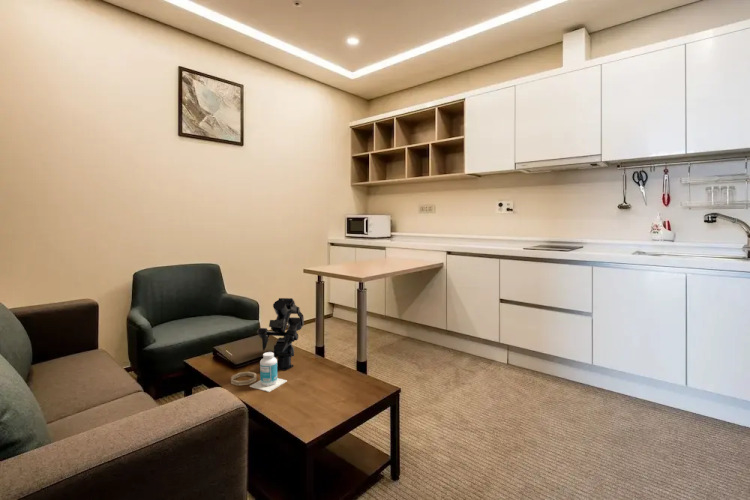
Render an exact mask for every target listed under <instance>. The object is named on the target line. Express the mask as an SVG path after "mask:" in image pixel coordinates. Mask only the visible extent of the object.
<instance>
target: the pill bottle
mask: <svg viewBox="0 0 750 500" xmlns="http://www.w3.org/2000/svg"><path fill="white" fill-rule="evenodd" d="M262 357H263V358H261V360H259V374H260V375H259V377H260V378H259V379H260V380H259V381H260V382H261V384H262V385H264V386H271V385H274V384H276V383H277V378H278V369H277V366H278V362H277V361H278V358H277V357H275V354H274V351H273V352H272V351H268V352H264V353H263V354H262Z"/></svg>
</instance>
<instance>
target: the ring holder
mask: <svg viewBox="0 0 750 500" xmlns="http://www.w3.org/2000/svg"><path fill="white" fill-rule="evenodd" d="M246 376H249V377H251V378H250V379H248V380H236V379H237V378H239V377H246ZM257 378H258V377H257V373H256V372H252V371H243V372H241V371H240V372H238V373H235V374H233V375H231V377H230V384H231V385H234V386H239V387H240V386H246V385H252V384H254V383H256V382H257Z"/></svg>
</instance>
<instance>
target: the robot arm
mask: <svg viewBox="0 0 750 500" xmlns="http://www.w3.org/2000/svg"><path fill="white" fill-rule="evenodd" d="M272 307H273V310H274V312H275V314H276V318H275V319H269V324H268V327H269V328H270V330H268V328H267V327H259V328H258V329H257V331H256V334H257V336H258V337H259V338H261V340H262V341H261V343H262V351H265V350H266V347H267V345H268V342H269V338H270V336H271V337H272V336H274V337H278V338H277V340H276V343H275V344H274V346H273V353H274V357H275V358H277V370H283V371H287V370H290V369H291V368H293V367H294V364H292V357H294V356H295V348H294V346H293V342H295V341H298V339H299V334H298V332H297V331H300V330H302V328H303V327H304V325H305V317H304V315H303V313H302V312H301V309H300V307H299V306H298V305H296V302H295V300H294V299H293V298H289V297H285V298H284V297H279V298H278V300H276V301H274V302H273V304H272ZM291 315H297V316H298V317H291ZM286 329H287V330H286Z"/></svg>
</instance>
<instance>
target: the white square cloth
mask: <svg viewBox="0 0 750 500" xmlns="http://www.w3.org/2000/svg"><path fill="white" fill-rule="evenodd" d="M287 382H288V380H286V379H283V378H279V377H277V383H276V384H274V385H271V386H264V385H262V384H261V382H260V380H258V381H255V382H253V383H251V384H250V385H249V387H250V388H253V389H255V390H260V391H263V392H267V393H270V392H272V391H273V390H275V389H277V388H279V387H281V386H282V385H284V384H285V383H287Z"/></svg>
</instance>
